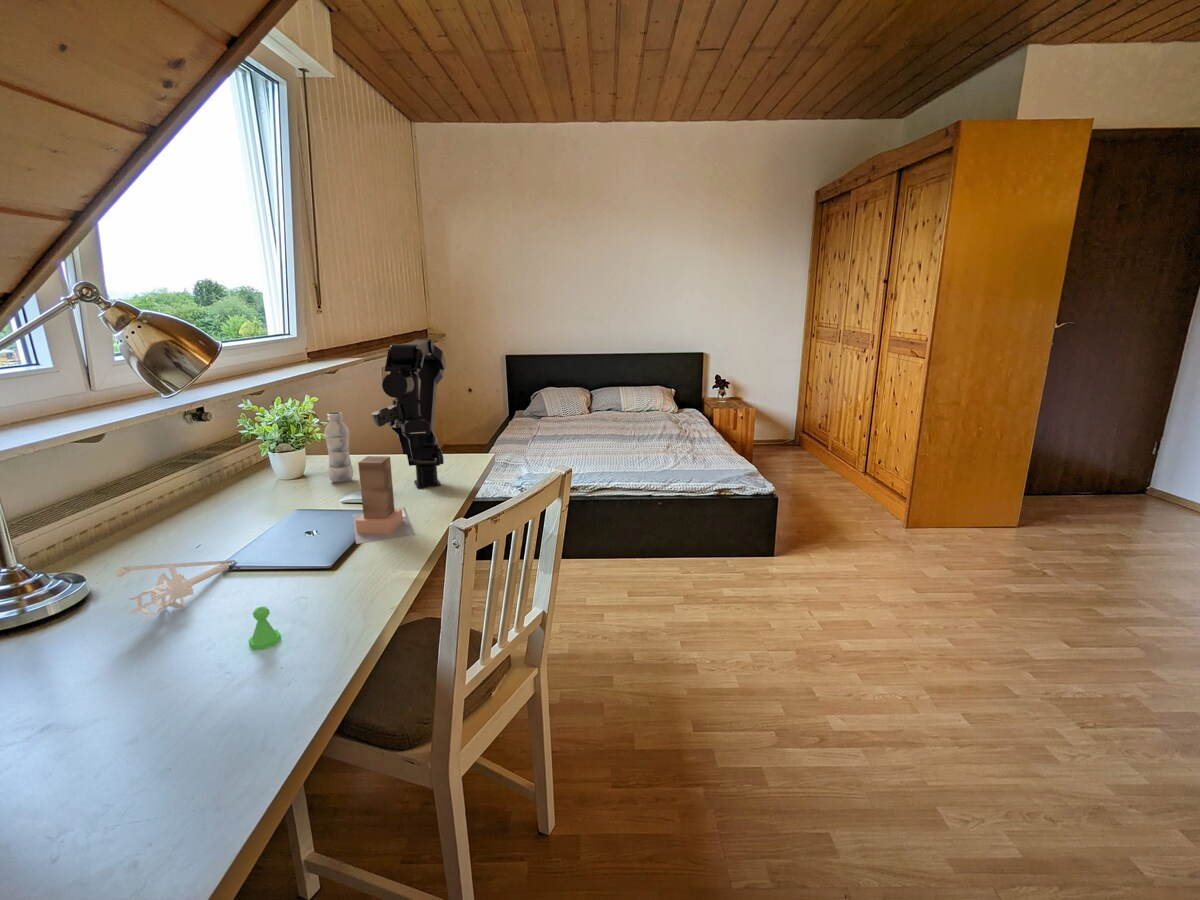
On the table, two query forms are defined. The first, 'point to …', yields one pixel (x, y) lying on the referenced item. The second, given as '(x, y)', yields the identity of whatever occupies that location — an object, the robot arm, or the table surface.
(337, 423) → the plastic bottle
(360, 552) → the table surface
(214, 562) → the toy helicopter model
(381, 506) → the pillar
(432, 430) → the robot arm
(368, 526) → the plinth
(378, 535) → the base board
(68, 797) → the table surface
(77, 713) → the table surface
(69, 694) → the table surface
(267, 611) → the game piece
